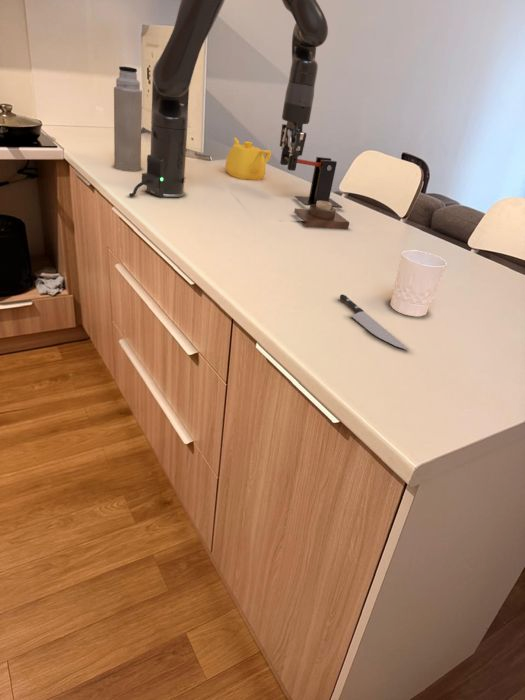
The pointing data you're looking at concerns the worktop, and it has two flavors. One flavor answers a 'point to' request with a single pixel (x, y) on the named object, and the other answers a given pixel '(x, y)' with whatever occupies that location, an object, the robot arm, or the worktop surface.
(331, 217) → the button block
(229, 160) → the teapot
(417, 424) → the worktop surface
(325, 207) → the button
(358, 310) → the chef's knife
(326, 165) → the bracket
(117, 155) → the thermos bottle
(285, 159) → the lever
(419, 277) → the white cup
